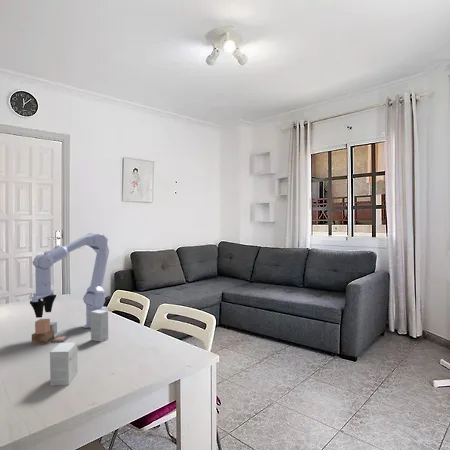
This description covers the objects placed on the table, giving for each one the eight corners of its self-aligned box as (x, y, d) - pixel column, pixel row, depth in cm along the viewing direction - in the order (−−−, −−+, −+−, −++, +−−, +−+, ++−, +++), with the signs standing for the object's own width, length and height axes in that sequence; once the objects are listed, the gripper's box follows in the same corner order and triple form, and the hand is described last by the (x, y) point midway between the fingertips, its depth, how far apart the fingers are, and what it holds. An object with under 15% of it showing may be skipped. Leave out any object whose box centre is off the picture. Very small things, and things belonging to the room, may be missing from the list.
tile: (68, 337, 142) (68, 335, 142) (63, 342, 137) (63, 340, 137) (56, 337, 142) (56, 336, 142) (51, 342, 137) (51, 340, 137)
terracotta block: (50, 330, 140) (49, 318, 140) (45, 333, 136) (45, 321, 136) (40, 330, 140) (40, 318, 140) (35, 333, 136) (35, 321, 136)
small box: (60, 374, 109) (60, 342, 109) (78, 373, 109) (77, 341, 109) (49, 386, 101) (49, 352, 101) (68, 385, 101) (68, 351, 101)
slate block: (57, 333, 148) (56, 321, 148) (52, 336, 144) (52, 324, 144) (47, 333, 148) (47, 322, 148) (43, 336, 144) (43, 324, 144)
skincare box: (108, 338, 141) (108, 310, 140) (101, 342, 137) (100, 313, 137) (98, 336, 143) (97, 309, 143) (90, 340, 139) (90, 311, 139)
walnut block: (54, 339, 141) (54, 329, 141) (46, 344, 135) (46, 334, 135) (40, 339, 141) (40, 329, 141) (31, 344, 135) (31, 334, 135)
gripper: (42, 279, 148) (42, 310, 148) (23, 286, 133) (24, 320, 133) (58, 279, 148) (58, 309, 148) (41, 286, 133) (42, 319, 134)
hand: (43, 314), depth 141 cm, fingers open, 7 cm apart
